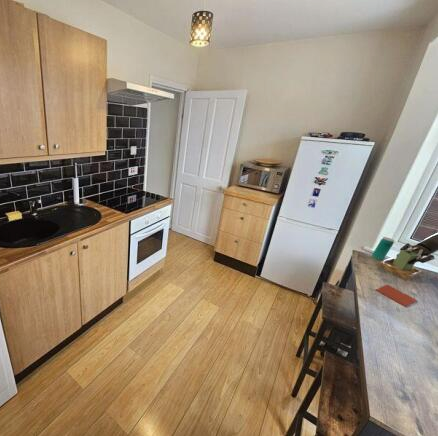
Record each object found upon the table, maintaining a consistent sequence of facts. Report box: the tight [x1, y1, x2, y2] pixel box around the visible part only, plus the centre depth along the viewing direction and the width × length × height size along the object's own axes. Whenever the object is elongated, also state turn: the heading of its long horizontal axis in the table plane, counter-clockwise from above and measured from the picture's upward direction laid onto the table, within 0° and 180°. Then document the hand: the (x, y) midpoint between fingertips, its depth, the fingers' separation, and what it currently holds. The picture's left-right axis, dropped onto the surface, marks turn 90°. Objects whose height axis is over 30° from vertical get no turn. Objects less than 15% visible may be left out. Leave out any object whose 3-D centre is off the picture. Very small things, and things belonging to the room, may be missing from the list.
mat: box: [375, 284, 418, 308], centre depth 118 cm, size 12×12×1 cm
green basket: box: [393, 250, 418, 270], centre depth 135 cm, size 6×6×10 cm
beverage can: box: [371, 236, 395, 262], centre depth 146 cm, size 6×6×15 cm
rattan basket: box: [378, 257, 423, 281], centre depth 138 cm, size 14×14×4 cm
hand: (402, 260), depth 135 cm, fingers closed on green basket, 5 cm apart
